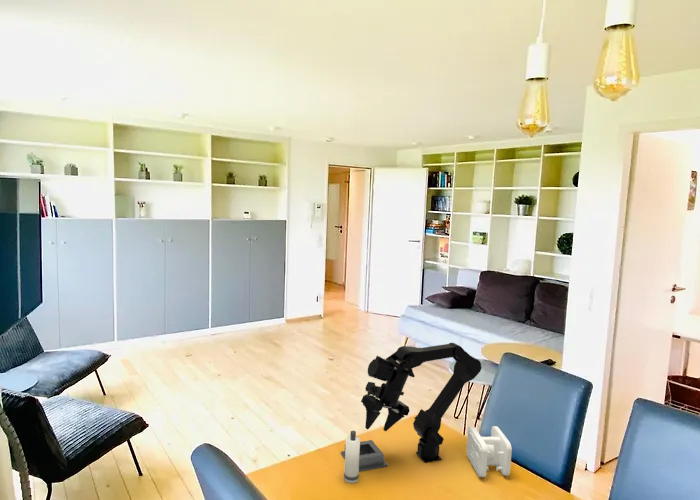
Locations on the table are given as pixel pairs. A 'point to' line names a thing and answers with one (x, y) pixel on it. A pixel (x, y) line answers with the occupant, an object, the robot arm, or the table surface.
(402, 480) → the table surface
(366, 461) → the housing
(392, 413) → the robot arm
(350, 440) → the white bottle
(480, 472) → the cable organizer
